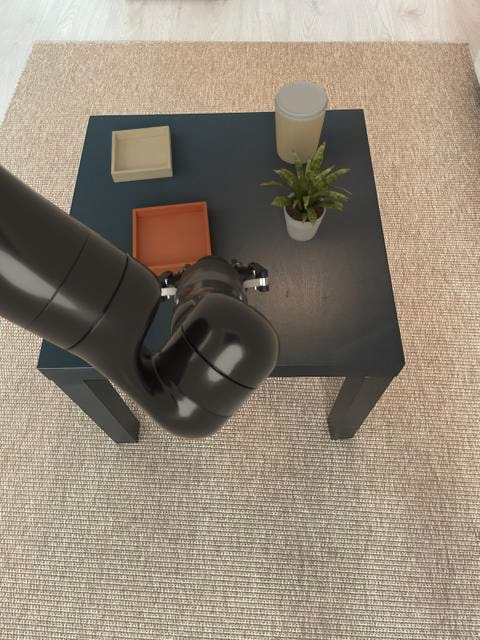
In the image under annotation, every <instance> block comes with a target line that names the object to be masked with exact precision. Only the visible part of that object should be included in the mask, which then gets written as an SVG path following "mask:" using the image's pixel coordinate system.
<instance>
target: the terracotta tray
mask: <svg viewBox="0 0 480 640" xmlns="http://www.w3.org/2000/svg"><path fill="white" fill-rule="evenodd" d="M207 203H208V202H207V201H206V200H205V201H197V202H196V201H195V202H187V203H186V202H185V203H177V204H166V205H158V206H148V207H147V206H146V207H139V208H137V207H136V208H132V257H134V258H136V259H137V260H139V261H140V262H141V263H143V264H144V265H146V266H147V267H148V268H150V269H151V270H152V271H153V272H154V273H155V274H156V275H157V277H158V276H160V275H161V274H162V273H163V272H166V271H168V270H169V271H173V274H176V273H178V269H180V268H183V267H185V264H191V265H193V264H194V263H196V262H197V261H198V260H199V259H201V258H202V257H205V256H208V255H213V254H212V245H211V233H210V222H209V211H208V205H207Z"/></svg>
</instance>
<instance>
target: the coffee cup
mask: <svg viewBox="0 0 480 640" xmlns="http://www.w3.org/2000/svg"><path fill="white" fill-rule="evenodd" d="M273 99H274V100H273V103H274V104H273V105H274V114H275V115H274V118H275V119H274V120H275V141H276V152H277V155H278V158H280V159H281V160H282V161H283V162H285V163H288V164H289V165H290V164H292V165H295V161H294V155H293V152H292V149H293V150H294V152H295V153H296V154H297V155H298V157H299V159H300V161H301V164H302V165H303V164H304V165H305V164H307V163H308V160H309V158H310V156H311V160H313V158H314V156H315V153H316V152H317V150H318V148H319V144H320V138H321V134H322V130H323V125H324V121H325V117H326V112H327V109H328V106H329V98H328V95H327V92H326V91H325V89H324V88H323V87H322V86H321V85H319V84H318V83H316V82H313V81H310V80H305V79H303V80H302V79H298V80H293V81H290V82H289V81H288V82H287V83H285V84H283V85H282V86H281V87H280V88H279V89H278V90H277V92H276V94H275V96H274V98H273Z"/></svg>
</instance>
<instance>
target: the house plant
mask: <svg viewBox="0 0 480 640" xmlns="http://www.w3.org/2000/svg"><path fill="white" fill-rule="evenodd" d="M326 141H327V140H324V141H323V142H322V143H321V144H320V145H319V146H318V147H317V151H316V153H315V156H314V157H313V159H311V156H310V158H309V160H308V162H306V167H305V171H304V168H303V164H301V161H300V159H299V157H298V155H297V154H296V153H295V152H294V150H293V149H292V152H293V155H294V161H295V164H294V165H295V168H296V173H297V176H296V175H295V174H294V173H293V172H292V171H291V170H288V169H286V168H280V169H273V171H274V172H275V173H276V174H277V175H279V176H280V178H281V179H282V180H284V181H285V182H286V184H288V186H289V187H290V189H289V188H288V187H287V186H286V185H284V184H283V183H281V182H279V181H275V180H271V181H268V182H263V183H262V184H259V185H258V187H259V186H268V185H278V186H281V187H283V188H285V189H287V190H288V191H289V192H291V191H292V192H291V193H290V194H289V195H287V196H284V195H276V196H275V198H274V199H273V200H272V202H271V204H270V206H273V207H274V206H275V207H277V208H283V213H284V218H285V225H286V231H287V234H288V235H289V237H290V238H292V239H293V240H294V241H298V242H306V241H310V240H311V239H313V238H314V237H315V236H316V234H317V232H318V229H319V227H320V225H321V223H322V220H323V218H324V216H325V214H326V212H327V209H331V210H339V211H343V209H342V208H346V206H345V205H343V203H341V202H340V201H345V202H346V203H348V199H349V200H350V198H349V197H348V196H346V195H344V194H343V193H342V192H341V191H335V190H329V189H332V188H336V189H337V188H338V189H340V190H343V191H344V192H346V193H347V194H349V195H352V196H353V197H358V196H356V195H355V194H353V193H352V192H350V191H349V190H347V188H344V187H342V186H340V185H337V184H331V183H333V182H335V181H336V180H337V179H338V178H339V177H340V176H341V175H343V174H345V173H347V172H349V171H351V170H352V168H350V167H349V168H341V169H337V170H336V171H335V170H334V172H332V173H330V174H329V175H327V174H328V173H329V172H331V170H333V168H334V167H335V165H336V164H335V165H331V166H330V167H328V168H326V169H325V170H322V171H320V169H321V167H322V164H323V161H324V151H325V148H326V143H327V142H326ZM326 175H327V176H326ZM324 198H332V199H326V200H325V199H324ZM334 199H335V200H334ZM337 200H338V201H337Z"/></svg>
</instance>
